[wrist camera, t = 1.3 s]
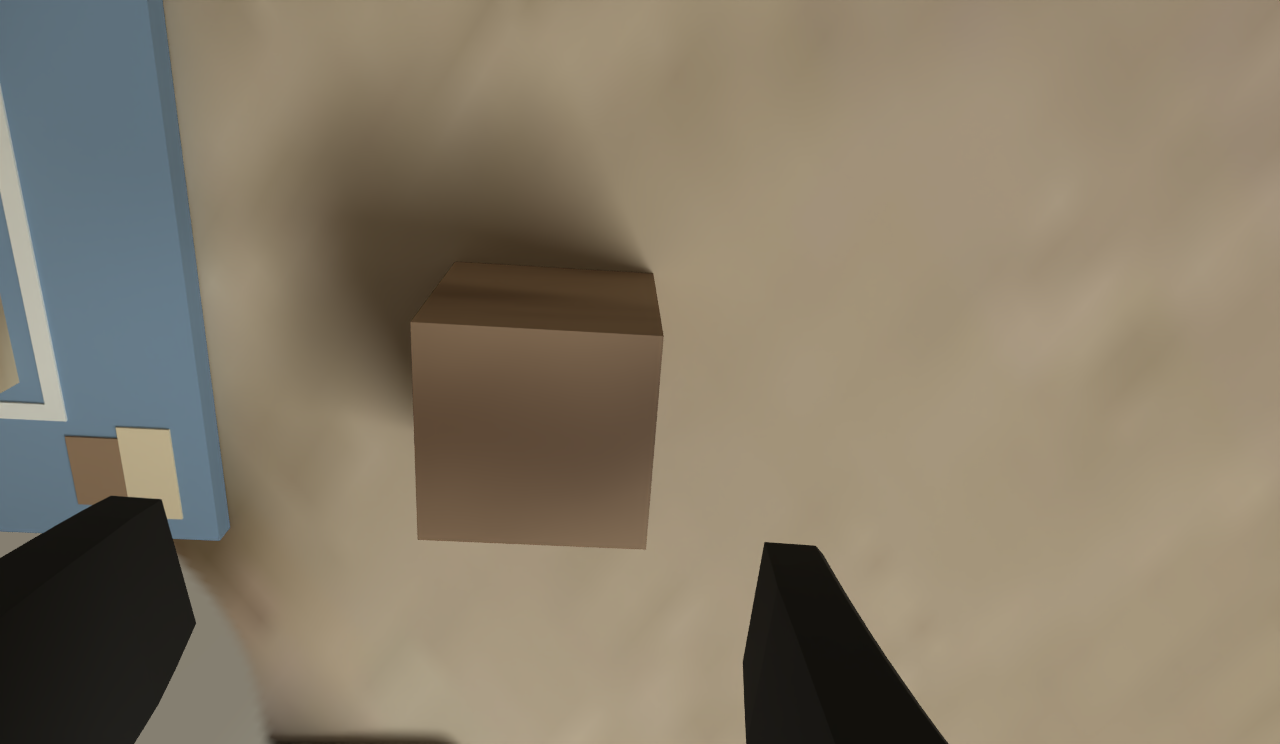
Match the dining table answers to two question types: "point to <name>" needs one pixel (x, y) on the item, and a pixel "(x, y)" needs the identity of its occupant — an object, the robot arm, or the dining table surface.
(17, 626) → the robot arm
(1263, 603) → the dining table surface
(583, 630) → the dining table surface
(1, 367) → the maple base block
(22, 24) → the board
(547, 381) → the walnut block
